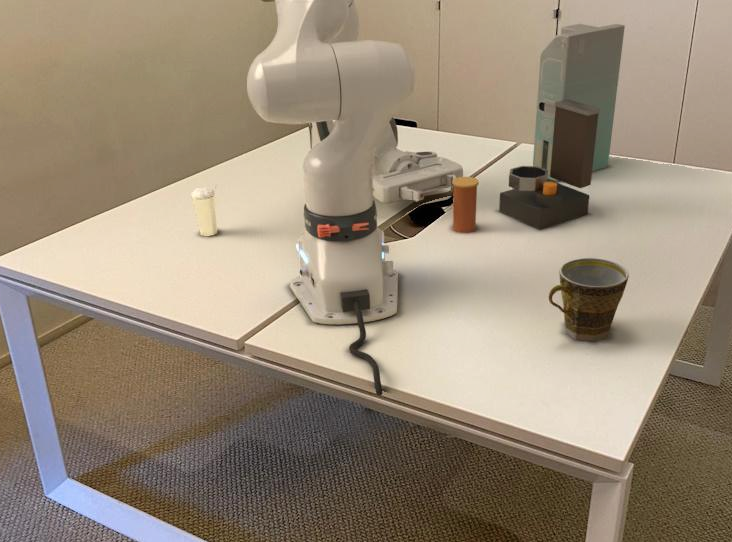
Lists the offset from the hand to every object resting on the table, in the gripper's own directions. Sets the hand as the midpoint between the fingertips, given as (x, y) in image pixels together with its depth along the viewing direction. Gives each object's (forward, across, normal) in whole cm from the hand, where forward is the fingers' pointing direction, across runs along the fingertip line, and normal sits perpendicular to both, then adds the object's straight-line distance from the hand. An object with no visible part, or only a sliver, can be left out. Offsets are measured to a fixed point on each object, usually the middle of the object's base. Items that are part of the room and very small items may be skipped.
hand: (440, 191), depth 167 cm
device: (-4, +40, +5) cm, 41 cm away
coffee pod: (+8, 0, +5) cm, 9 cm away
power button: (+15, +15, 0) cm, 21 cm away
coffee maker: (+12, +18, -1) cm, 21 cm away
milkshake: (-21, -41, +5) cm, 46 cm away
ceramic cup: (+51, -12, +6) cm, 53 cm away
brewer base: (+11, +18, +5) cm, 22 cm away
